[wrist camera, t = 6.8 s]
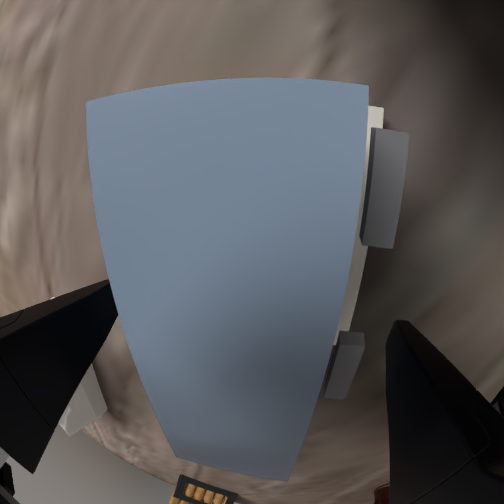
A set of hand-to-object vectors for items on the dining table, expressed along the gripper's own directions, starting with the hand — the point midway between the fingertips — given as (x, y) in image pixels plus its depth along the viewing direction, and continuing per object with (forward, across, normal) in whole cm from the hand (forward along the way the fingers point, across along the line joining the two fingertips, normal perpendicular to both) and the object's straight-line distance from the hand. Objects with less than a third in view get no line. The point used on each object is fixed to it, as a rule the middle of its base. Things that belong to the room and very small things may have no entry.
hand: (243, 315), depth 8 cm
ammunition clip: (+8, +9, +49) cm, 50 cm away
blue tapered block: (+2, 0, 0) cm, 2 cm away
